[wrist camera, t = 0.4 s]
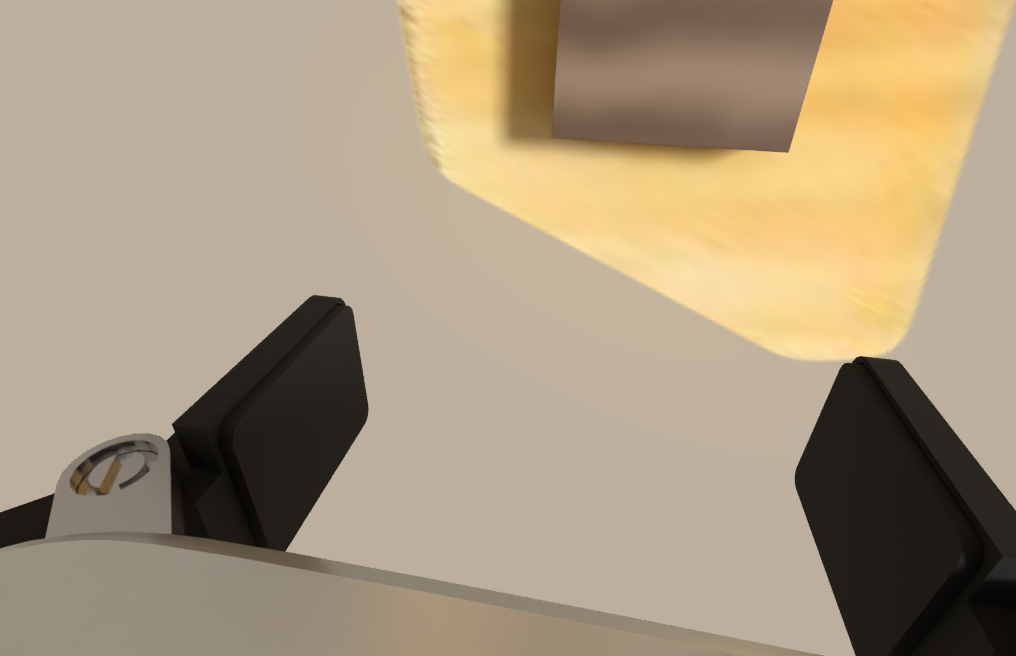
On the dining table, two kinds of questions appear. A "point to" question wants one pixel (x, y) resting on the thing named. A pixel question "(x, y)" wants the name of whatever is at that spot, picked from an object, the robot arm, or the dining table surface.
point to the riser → (685, 71)
